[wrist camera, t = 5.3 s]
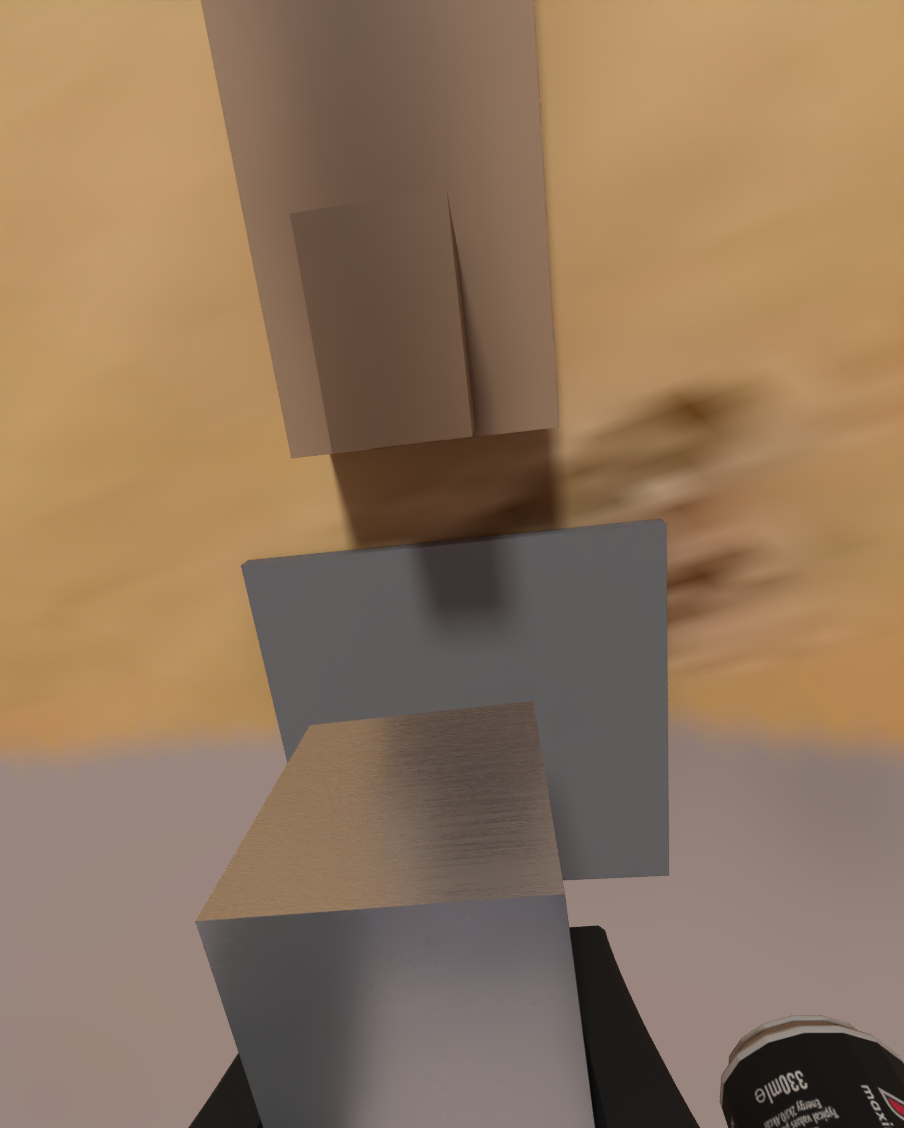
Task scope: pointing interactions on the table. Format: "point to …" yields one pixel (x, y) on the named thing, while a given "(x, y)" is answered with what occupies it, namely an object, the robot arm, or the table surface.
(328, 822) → the lever cap
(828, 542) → the table surface
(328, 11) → the plane body
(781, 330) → the table surface
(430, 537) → the table surface
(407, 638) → the mat
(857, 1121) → the beverage can
